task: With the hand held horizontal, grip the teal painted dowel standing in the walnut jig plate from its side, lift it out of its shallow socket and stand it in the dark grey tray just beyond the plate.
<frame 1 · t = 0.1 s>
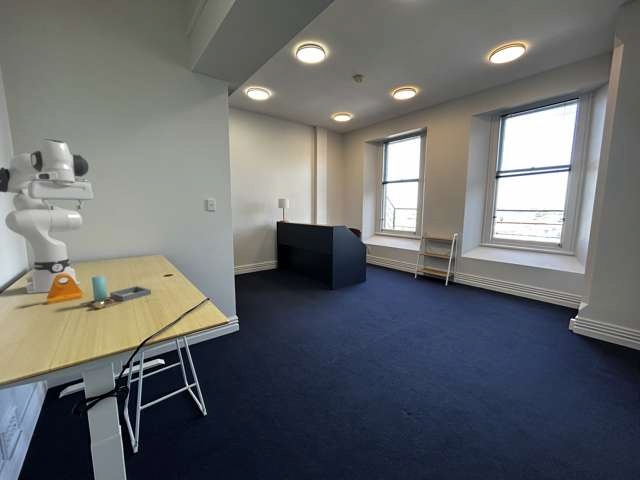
hand: (65, 210, 112), 39 cm above the table, tool pointing down, fingers open, 8 cm apart
tray: (131, 298, 115), on the table
bench dog: (100, 308, 100), resting on jig plate
jig plate: (101, 306, 105), on the table
bracket: (66, 302, 110), on the table
dowel: (101, 303, 105), point 1 cm above the table, touching jig plate
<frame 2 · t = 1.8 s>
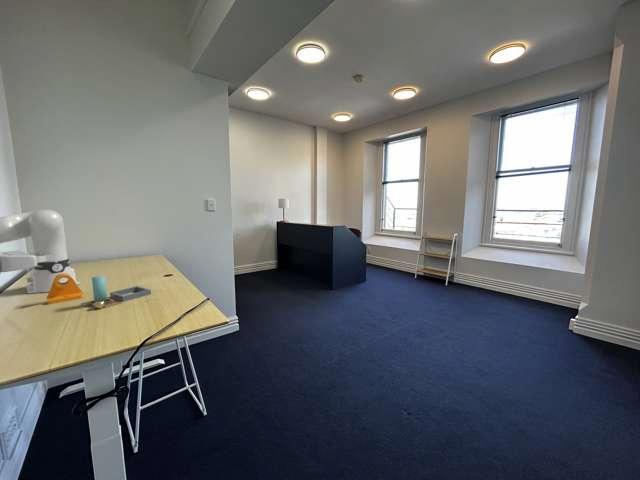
hand: (47, 256, 91), 23 cm above the table, tool horizontal, fingers open, 8 cm apart
nothing on the table moved.
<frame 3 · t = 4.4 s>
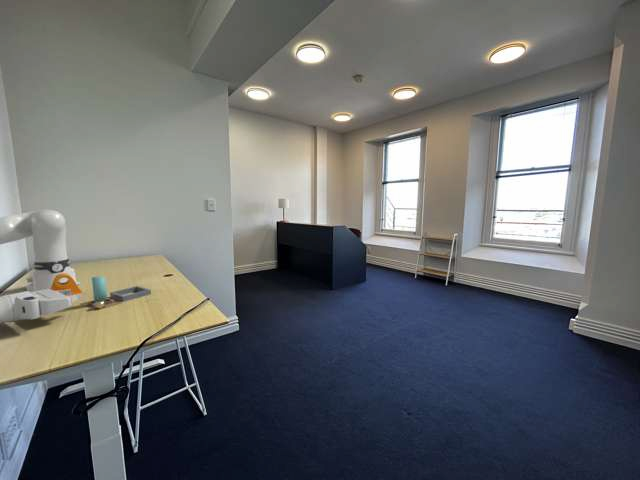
hand: (76, 293, 98), 8 cm above the table, tool horizontal, fingers open, 8 cm apart
nothing on the table moved.
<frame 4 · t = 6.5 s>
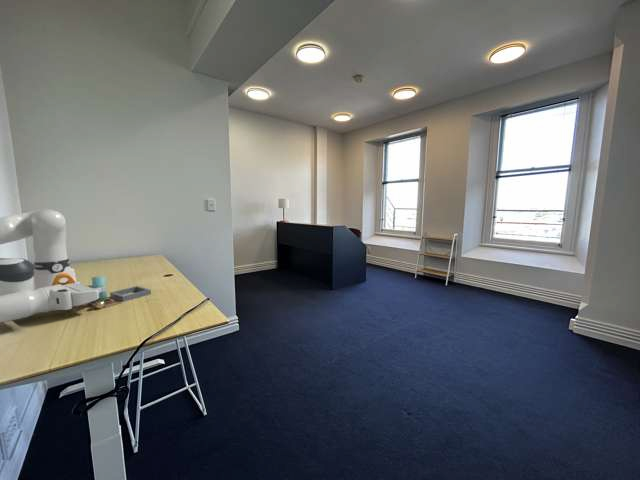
hand: (102, 287, 105), 8 cm above the table, tool horizontal, fingers closed on dowel, 4 cm apart
dowel: (101, 303, 105), point 1 cm above the table, touching gripper, jig plate
everything else where it was.
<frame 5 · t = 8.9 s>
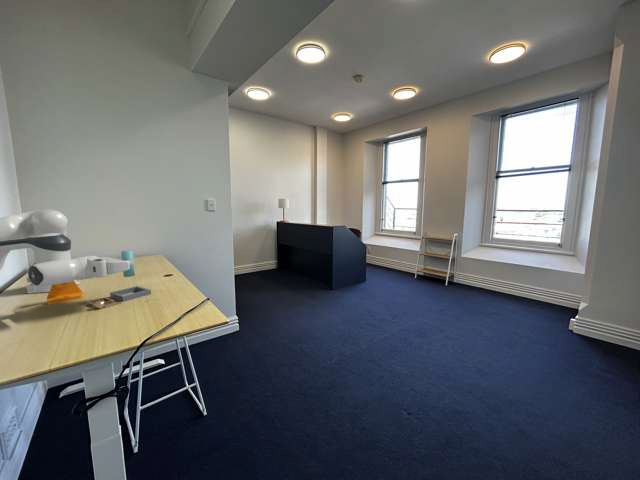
hand: (130, 260, 114), 17 cm above the table, tool horizontal, fingers closed on dowel, 4 cm apart
dowel: (129, 275, 114), point 10 cm above the table, touching gripper
everything else where it was.
when the fingers open (8 cm above the table, at t = 11.2 s): dowel stays where it is, resting on tray.
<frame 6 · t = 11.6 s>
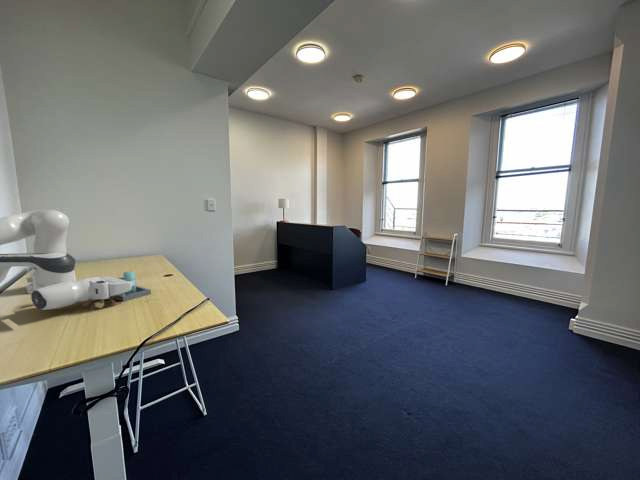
hand: (132, 279, 115), 8 cm above the table, tool horizontal, fingers open, 8 cm apart
dowel: (131, 296, 115), point 1 cm above the table, touching tray
everything else where it was.
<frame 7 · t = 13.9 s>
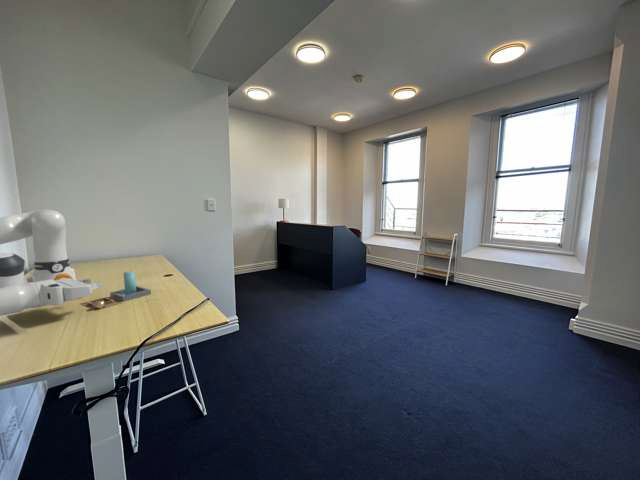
hand: (95, 282, 103), 10 cm above the table, tool horizontal, fingers open, 8 cm apart
nothing on the table moved.
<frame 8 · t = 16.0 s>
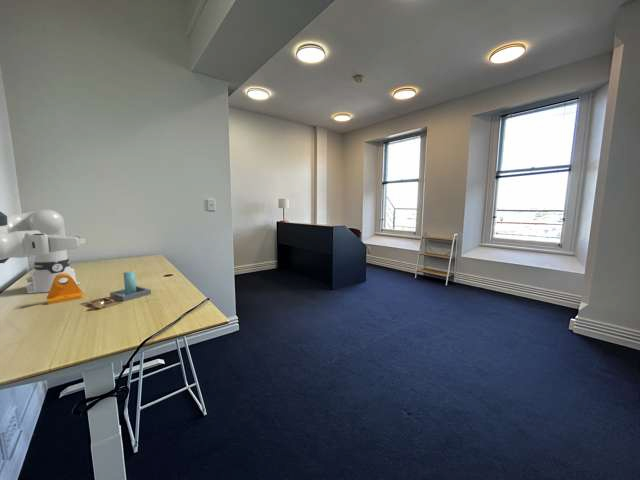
hand: (84, 239, 99), 28 cm above the table, tool horizontal, fingers open, 8 cm apart
nothing on the table moved.
at the end: dowel inside the target area on the tray (0.0 cm from its centre), point 0.8 cm above the tray's base; dowel tilted 0°; the gripper is holding nothing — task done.
